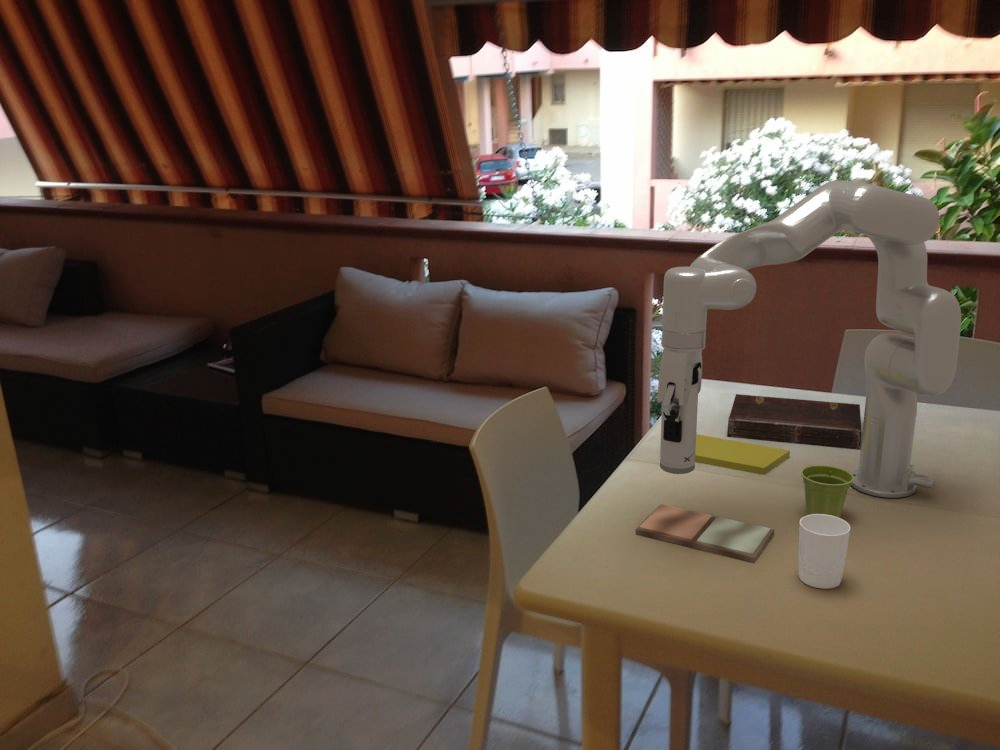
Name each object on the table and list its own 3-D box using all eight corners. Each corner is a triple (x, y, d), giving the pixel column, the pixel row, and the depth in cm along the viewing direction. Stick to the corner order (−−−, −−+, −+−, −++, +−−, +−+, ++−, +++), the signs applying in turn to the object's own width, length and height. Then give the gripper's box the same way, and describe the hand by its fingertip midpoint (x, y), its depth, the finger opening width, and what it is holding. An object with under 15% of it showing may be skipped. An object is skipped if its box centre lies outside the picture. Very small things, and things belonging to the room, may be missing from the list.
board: (773, 534, 170) (774, 527, 169) (754, 562, 160) (754, 555, 160) (660, 509, 181) (660, 502, 180) (635, 534, 171) (635, 527, 171)
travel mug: (696, 475, 166) (701, 368, 160) (659, 473, 167) (662, 366, 161) (696, 462, 172) (701, 358, 166) (660, 460, 173) (664, 357, 167)
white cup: (838, 595, 149) (844, 539, 146) (789, 583, 153) (793, 528, 150) (849, 574, 156) (855, 520, 153) (802, 563, 160) (806, 509, 157)
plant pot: (812, 501, 183) (815, 460, 180) (858, 516, 176) (862, 473, 174) (788, 517, 177) (791, 474, 174) (835, 532, 170) (839, 489, 168)
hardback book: (727, 439, 217) (728, 418, 216) (734, 412, 234) (735, 394, 232) (859, 452, 208) (861, 431, 206) (857, 423, 225) (859, 404, 223)
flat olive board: (665, 458, 206) (774, 479, 195) (666, 449, 206) (775, 470, 194) (684, 441, 216) (789, 459, 205) (684, 432, 216) (790, 450, 204)
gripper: (681, 325, 171) (677, 417, 177) (643, 347, 157) (641, 446, 162) (720, 330, 167) (715, 423, 173) (686, 353, 153) (681, 454, 159)
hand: (679, 433), depth 168 cm, fingers closed on travel mug, 6 cm apart
